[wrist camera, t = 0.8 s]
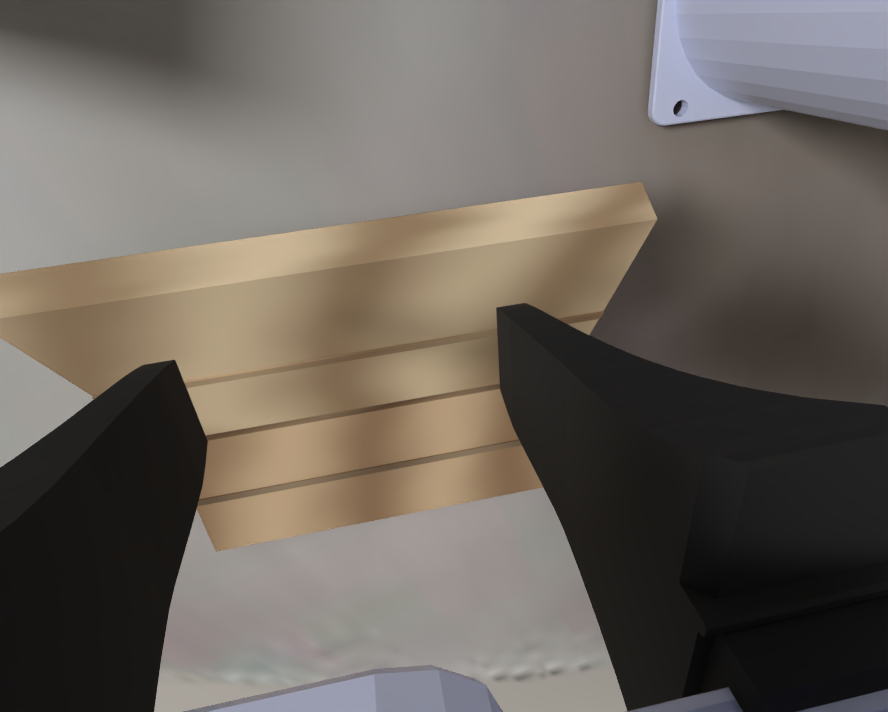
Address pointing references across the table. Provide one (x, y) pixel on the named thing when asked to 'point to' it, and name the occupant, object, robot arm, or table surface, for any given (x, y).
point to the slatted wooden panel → (330, 305)
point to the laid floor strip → (360, 466)
